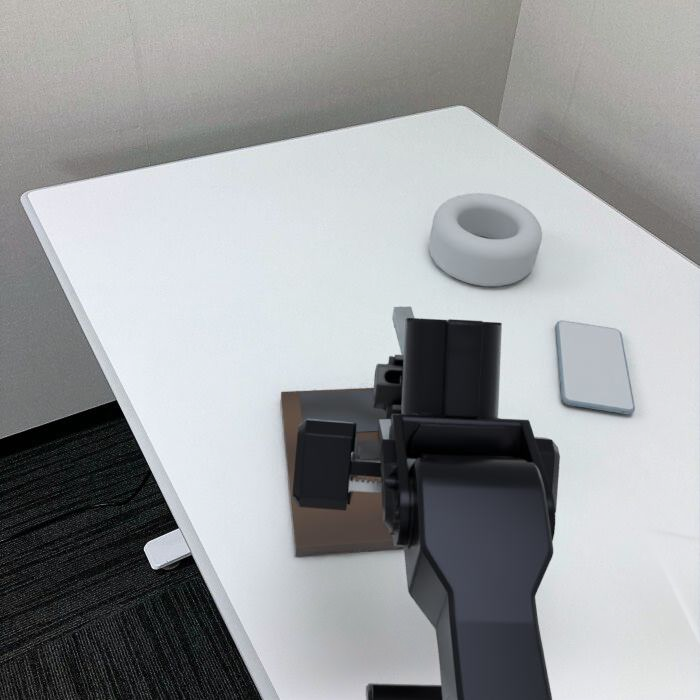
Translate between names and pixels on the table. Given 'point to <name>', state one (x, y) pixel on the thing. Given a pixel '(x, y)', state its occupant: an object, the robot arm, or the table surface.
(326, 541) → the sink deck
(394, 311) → the tap
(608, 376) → the smartphone
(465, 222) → the donut shape
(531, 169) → the table surface
